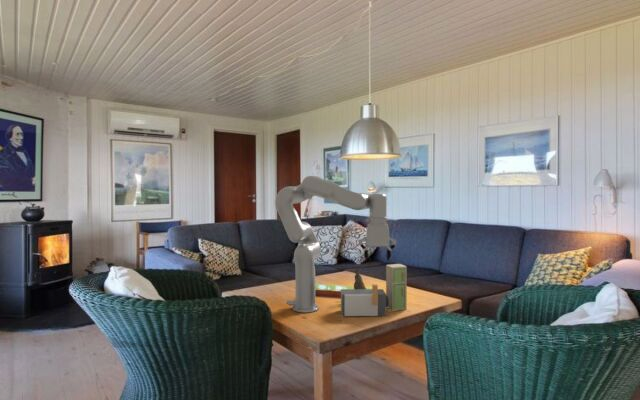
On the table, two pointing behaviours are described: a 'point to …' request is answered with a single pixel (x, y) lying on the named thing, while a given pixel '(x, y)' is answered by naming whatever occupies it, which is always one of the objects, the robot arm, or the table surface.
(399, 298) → the toy refrigerator
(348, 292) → the grey toy microwave
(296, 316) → the table surface
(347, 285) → the table surface
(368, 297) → the side door
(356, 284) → the brown carved statuette
